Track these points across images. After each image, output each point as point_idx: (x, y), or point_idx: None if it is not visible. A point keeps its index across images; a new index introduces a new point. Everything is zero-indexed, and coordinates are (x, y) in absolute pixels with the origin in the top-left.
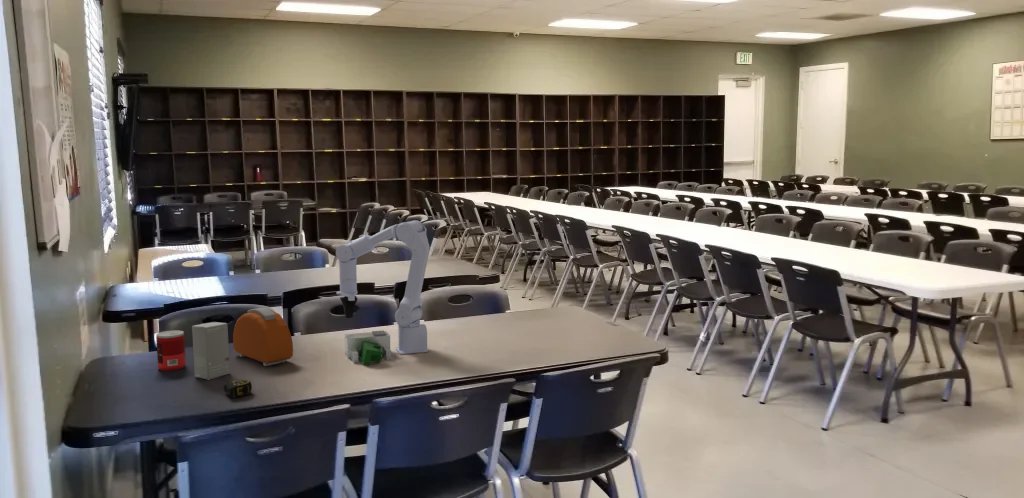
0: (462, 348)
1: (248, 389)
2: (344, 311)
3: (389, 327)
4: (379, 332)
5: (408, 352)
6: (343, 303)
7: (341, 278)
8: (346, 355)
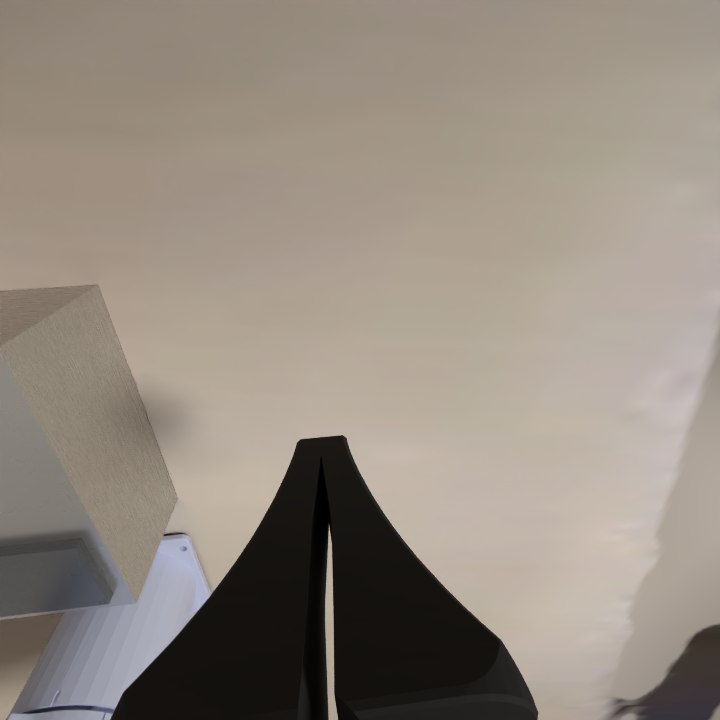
0: None
1: None
2: (344, 479)
3: (630, 519)
4: (34, 585)
5: None
6: (170, 644)
7: None
8: (14, 291)
